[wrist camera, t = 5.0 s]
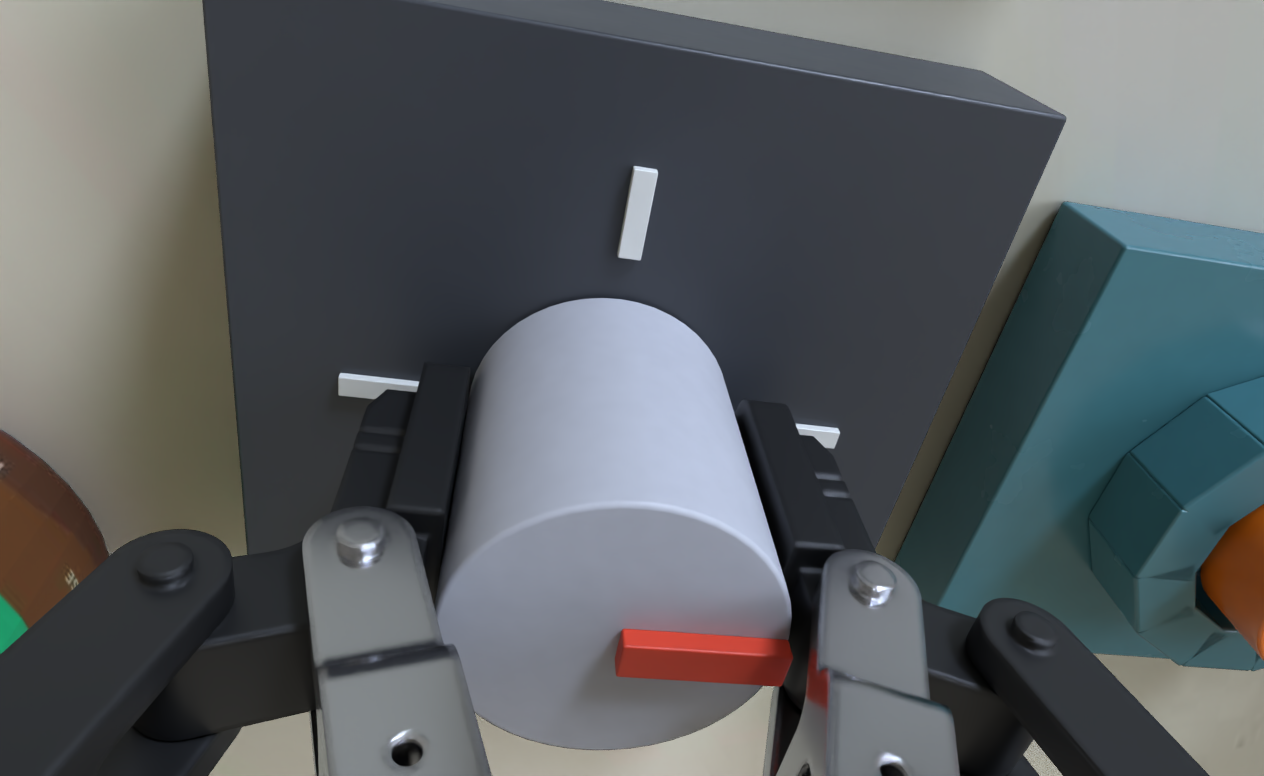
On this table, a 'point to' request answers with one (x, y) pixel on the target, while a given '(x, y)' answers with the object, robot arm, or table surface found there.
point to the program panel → (596, 214)
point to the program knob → (608, 536)
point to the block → (1110, 440)
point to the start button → (1239, 577)
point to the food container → (39, 539)
